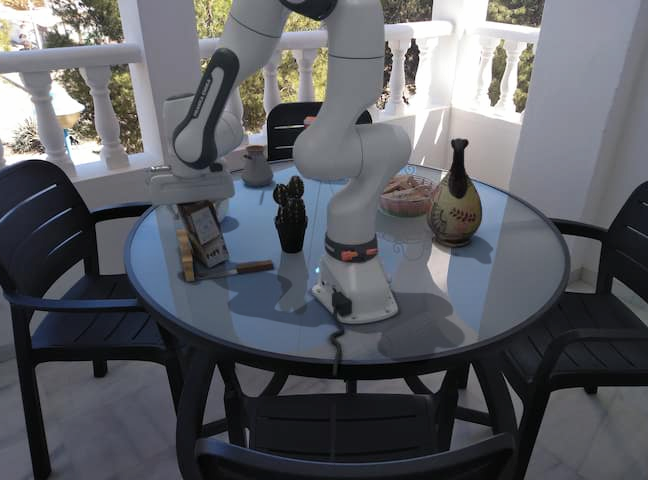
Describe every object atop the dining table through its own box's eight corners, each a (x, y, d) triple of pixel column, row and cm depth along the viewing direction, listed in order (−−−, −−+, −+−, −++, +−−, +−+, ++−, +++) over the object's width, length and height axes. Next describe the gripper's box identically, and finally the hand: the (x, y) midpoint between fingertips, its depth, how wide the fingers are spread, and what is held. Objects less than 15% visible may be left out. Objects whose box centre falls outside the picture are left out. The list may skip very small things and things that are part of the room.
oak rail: (195, 280, 131) (192, 260, 128) (185, 281, 130) (182, 261, 128) (188, 247, 146) (185, 228, 143) (179, 248, 145) (176, 229, 143)
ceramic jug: (425, 226, 161) (435, 126, 146) (477, 231, 158) (493, 130, 144) (420, 251, 147) (431, 143, 132) (478, 257, 144) (496, 148, 129)
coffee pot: (245, 177, 196) (242, 136, 188) (276, 178, 195) (274, 137, 187) (230, 199, 177) (225, 154, 170) (264, 200, 176) (261, 156, 169)
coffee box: (230, 257, 139) (214, 203, 130) (208, 268, 136) (189, 214, 127) (214, 244, 145) (197, 192, 136) (193, 255, 142) (174, 202, 133)
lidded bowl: (206, 209, 169) (202, 176, 164) (239, 217, 164) (236, 183, 159) (179, 224, 159) (174, 189, 154) (213, 233, 154) (210, 197, 149)
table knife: (273, 268, 137) (272, 263, 136) (196, 280, 131) (195, 274, 130) (271, 264, 138) (270, 259, 138) (195, 276, 133) (194, 270, 132)
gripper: (143, 172, 122) (153, 227, 129) (233, 164, 128) (238, 217, 135) (142, 163, 127) (151, 217, 134) (229, 156, 133) (234, 207, 140)
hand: (195, 217), depth 134 cm, fingers open, 8 cm apart
